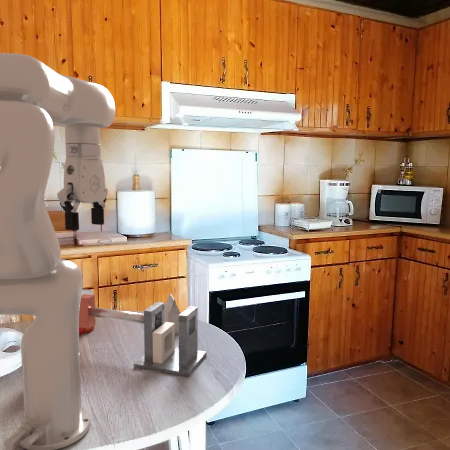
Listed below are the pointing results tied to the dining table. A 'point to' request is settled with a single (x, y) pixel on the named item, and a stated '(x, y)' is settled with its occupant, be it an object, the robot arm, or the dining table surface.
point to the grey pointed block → (172, 312)
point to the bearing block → (183, 355)
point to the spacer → (163, 342)
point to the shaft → (103, 313)
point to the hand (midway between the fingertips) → (85, 227)
